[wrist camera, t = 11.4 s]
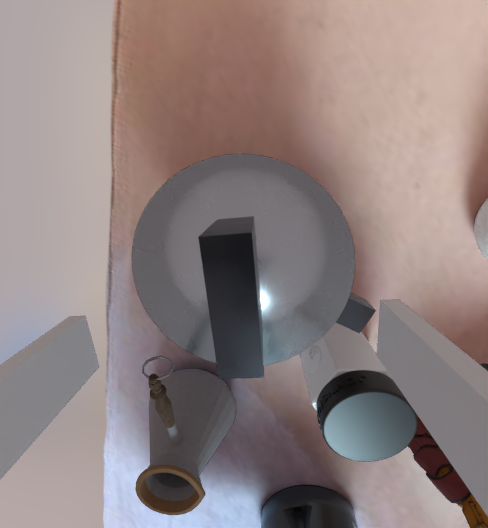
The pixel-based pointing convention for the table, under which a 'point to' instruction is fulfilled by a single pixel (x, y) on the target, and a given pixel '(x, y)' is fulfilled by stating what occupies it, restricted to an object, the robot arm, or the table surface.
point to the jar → (356, 398)
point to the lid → (243, 262)
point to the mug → (445, 476)
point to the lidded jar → (482, 229)
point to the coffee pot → (183, 436)
